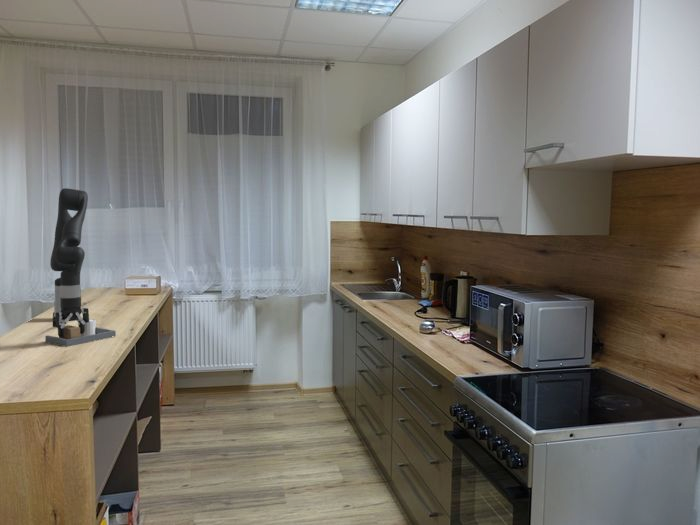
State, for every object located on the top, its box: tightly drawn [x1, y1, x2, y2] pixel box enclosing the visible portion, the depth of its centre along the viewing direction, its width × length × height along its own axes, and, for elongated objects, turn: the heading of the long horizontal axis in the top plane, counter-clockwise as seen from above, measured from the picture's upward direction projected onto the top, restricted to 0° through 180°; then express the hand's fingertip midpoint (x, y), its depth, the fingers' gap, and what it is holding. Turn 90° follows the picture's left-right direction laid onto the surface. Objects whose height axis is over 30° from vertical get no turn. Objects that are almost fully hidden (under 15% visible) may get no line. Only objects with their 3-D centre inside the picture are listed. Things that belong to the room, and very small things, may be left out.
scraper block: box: [58, 324, 80, 339], centre depth 218 cm, size 8×4×6 cm, turn 61°
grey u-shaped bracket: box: [44, 326, 117, 347], centre depth 222 cm, size 14×22×2 cm, turn 151°
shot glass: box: [77, 318, 97, 337], centre depth 227 cm, size 7×7×7 cm
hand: (71, 335), depth 217 cm, fingers open, 8 cm apart
